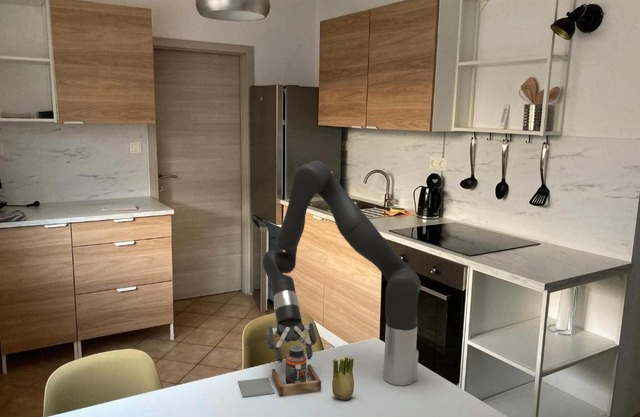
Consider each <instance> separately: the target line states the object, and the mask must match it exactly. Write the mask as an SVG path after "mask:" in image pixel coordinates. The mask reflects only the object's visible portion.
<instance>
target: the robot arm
mask: <svg viewBox="0 0 640 417" xmlns="http://www.w3.org/2000/svg"><path fill="white" fill-rule="evenodd" d="M316 194H318V195H319V196H320V197H321V199H322V200H323V201H324V202H325V203H326V204H327V206H328V207H329V209H330V211H331V214H332V215H333V216H332V217H333V219H334V223H335V224H336V227H337V229H338V231H339V233H340V235H341V236H342V237H343V238H344V240H345V241H346V242H347V243H348V244H349V246H350V247H351V248H352V249H353V250H354V251H355V252H356V253H358V254H359V255H360V256H362V257H363V258H365V259H366V260H367V261H369V262H370V263H371V264H373V265H374V266H375V267H376V268H377V269H378V271H379V272H380V273H381V274H382V275H383V277H384V278H385V279H386V281H387V284H386V288H385V311H384V314H385V319H386V321H385V336H384V338H385V339H384V354H383V356H384V357H383V371H382V372H383V375H382V376H383V377H382V378H383V379H384V381H385V382H387V383H389V384H390V385H391V384H392V385H394V386H409V385H411V384H413V383H414V382H417V381H418V365H419V350H418V349H417V341H418V340H417V338H418V336H417V335H418V324H419V322H418V321H419V317H418V301H419V293H420V292H421V288H422V282H421V280H420V279H421V278H420V277H419V276H418V274H417V273H416V271H414V269H412V268H411V267H410V266H409V265H408V263H406V262H405V260H403V259H402V258H401V257H400V256H399V255H398V254H397V253H396V252H395V251H394V248H392V247H391V245H390V244H389V243H388V241H387V239H386V238H384V236H383V235H382V234H381V233H380V231H379V230H378V229H377V227H376V226H375V225H374V223H373V222H372V221H371V220H370V219H369V218H368V216H366V215H365V213H364V212H363V211H362V210H361V209H360V207H359V206H358V205H357V204H356V203H355V201H354V200H353V199H352V197H351V196H350V195H349V194H348V193H347V191H346V190H345V189H344V188H343V186H342V185H341V184H340V182H339V181H338V179H337V178H336V176H335V175H334V173H333V171H332V170H331V169H330V167H329V166H328V165H327V164H325V163H324V162H322V161H320V160H313V161H310V162H308V163H306V164H303V165H300V167H299V168H297V169H296V170H295V173H294V175H293V180H292V185H291V191H290V194H289V195H290V196H289V198H288V199H289V200H288V205H287V209H286V212H285V215H284V217H283V221H282V223H281V226H280V229H279V231H278V234H277V237H276V240H275V243H276V246H277V247H278V248H279V249H280V250H281V251H280V250H279V251H278V250H268V251H267V252H265V253H264V255H263V258H262V266H263V269H264V272H265V275H266V276H267V278H268V281H269V283H270V284H271V288H272V295H273V310H274V313H275V320H276V321H275V322H276V327H272V326H268V329H267V333H266V334H267V346H268V349H269V350H274V351H275V356H276V360H277V362H279V363H283V361H284V359H283V352H282V347H281V346H282V345H283V343H284V341H285V342H286V343H288V342H289V343H290V342H297V341H299V342H300V343H301V344H303V345H304V346H305V352H306V354H305V355H306V357H307V361H309V360H311V359H312V358H313V356H314V353H313V348H312V346H314V345H315V344H316V343H317V341H318V340H317V335H316V332H315V327H314V324H313V322H312V323H309V324H305V325H304V324H303V322H302V320H303V319H302V314H301V311H300V310H301V309H300V305H299V304H300V303H299V298H298V295H297V292H296V286H295V282H294V279H293V277H291V276H290V275H287V274H290V273H292V272H293V271H294V270H295V267H296V264H297V250H298V245H299V243H300V240H301V238H302V235H303V232H304V229H305V226H306V225H305V224H306V215H307V211H308V207H309V205H310V203H311V201H312V200H313V198H314V197H315V195H316ZM282 250H283V251H282ZM304 330H305V331H306V333H308V336H309V338H308V337H307V335H306V334H305V333H304ZM276 334H277V335H278V336H279V337H280V338H279V339H278V341H277V343H275V342H274V341H275V340H274V336H275V335H276Z"/></svg>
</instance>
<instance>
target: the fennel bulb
mask: <svg viewBox="0 0 640 417" xmlns="http://www.w3.org/2000/svg"><path fill="white" fill-rule="evenodd" d="M338 360H339V361H338ZM354 360H355V358H354V357H352V356H346V355H345V356H344V357H341V358H340V359H338V358H336V357H335V358H333V361H332V363H333V368H332V369H333V371H332V380H331V381H332V382H331V383H332V384H331V386H332V389H331V390H332V394H333V396H334V398H336V399H339V400H341V401H347V400H350V399H351V398H352V396H353V394H354V391H355V380H354V372H353V371H354V370H353V369H354Z"/></svg>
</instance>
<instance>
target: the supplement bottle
mask: <svg viewBox="0 0 640 417" xmlns="http://www.w3.org/2000/svg"><path fill="white" fill-rule="evenodd" d="M304 349H305V348H304V347H303V346H300V345H293V346H290V347H289V353H288V354H287V355H286V357H285V384H292V383H300V382H307V362H308V359H307V354H305V353H304Z"/></svg>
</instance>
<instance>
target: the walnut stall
mask: <svg viewBox="0 0 640 417" xmlns="http://www.w3.org/2000/svg"><path fill="white" fill-rule="evenodd" d="M306 376H308V378H309V379H310V380H309V381H306V382H300V383H292V384H286V383H285V384H284V383H283V382H282V380H281V378H280V376H279V374H278V372H277V370H276V368H271V380H272V383H273V384H274V387H275V388H276V392H277V394H278V396H279V398H281V397H290V396H297V395H303V394H312V393H313V394H314V393H320V392H322V380H321V379H320V377H319V375H318V374H317V372H316V371H315V368H313V366H312V365H311V364H306Z"/></svg>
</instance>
